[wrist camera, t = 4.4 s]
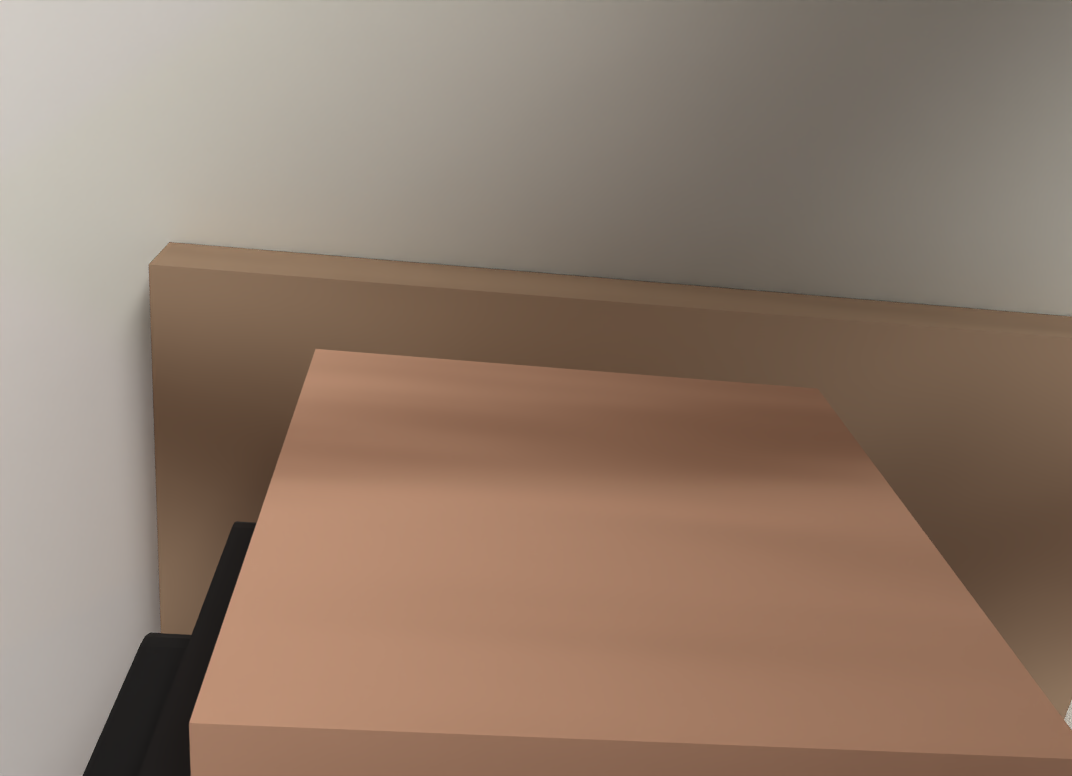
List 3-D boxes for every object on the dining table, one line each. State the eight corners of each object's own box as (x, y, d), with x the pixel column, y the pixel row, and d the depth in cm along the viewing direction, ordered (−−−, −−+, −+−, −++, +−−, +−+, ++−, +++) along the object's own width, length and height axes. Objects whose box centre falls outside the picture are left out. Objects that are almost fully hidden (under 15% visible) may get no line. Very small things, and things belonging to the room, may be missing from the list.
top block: (316, 348, 12) (188, 723, 6) (817, 388, 12) (1093, 760, 7) (304, 745, 14) (207, 1258, 9) (723, 761, 15) (872, 1249, 9)
